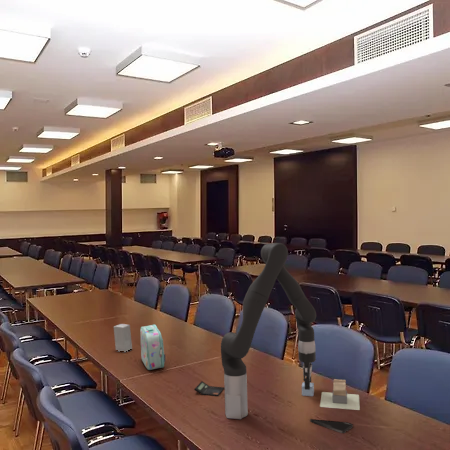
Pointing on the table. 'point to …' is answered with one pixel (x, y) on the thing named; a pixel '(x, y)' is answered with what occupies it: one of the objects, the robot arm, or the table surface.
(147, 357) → the lunch box
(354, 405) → the plate
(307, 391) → the blue block
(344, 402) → the base brick
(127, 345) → the skincare box
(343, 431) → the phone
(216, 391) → the calculator
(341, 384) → the birch block
